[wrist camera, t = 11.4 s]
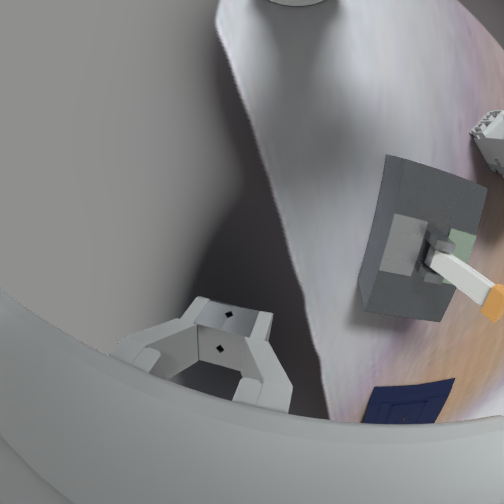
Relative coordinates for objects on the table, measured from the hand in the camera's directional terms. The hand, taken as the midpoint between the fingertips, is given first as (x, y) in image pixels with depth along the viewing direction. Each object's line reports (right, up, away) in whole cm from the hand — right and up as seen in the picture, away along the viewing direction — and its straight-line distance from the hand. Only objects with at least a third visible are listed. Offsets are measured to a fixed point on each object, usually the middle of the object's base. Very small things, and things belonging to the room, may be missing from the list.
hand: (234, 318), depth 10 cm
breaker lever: (+24, +3, +20) cm, 32 cm away
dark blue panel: (+44, -44, +48) cm, 78 cm away
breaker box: (+27, +7, +29) cm, 41 cm away
